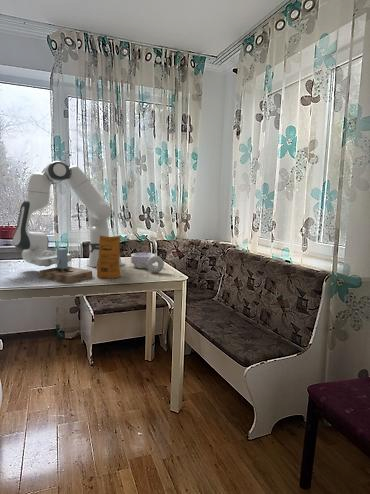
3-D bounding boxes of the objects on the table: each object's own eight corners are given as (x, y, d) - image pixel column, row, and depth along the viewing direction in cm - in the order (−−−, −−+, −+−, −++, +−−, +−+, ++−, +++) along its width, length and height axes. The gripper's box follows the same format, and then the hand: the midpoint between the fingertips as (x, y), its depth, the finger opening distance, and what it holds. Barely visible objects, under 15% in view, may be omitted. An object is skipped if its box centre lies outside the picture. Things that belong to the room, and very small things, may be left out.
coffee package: (98, 274, 184) (98, 234, 181) (121, 274, 185) (121, 235, 182) (95, 278, 175) (95, 236, 172) (119, 279, 176) (119, 237, 173)
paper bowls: (133, 270, 199) (134, 256, 198) (128, 265, 213) (128, 252, 212) (158, 268, 205) (158, 256, 204) (151, 264, 219) (151, 252, 218)
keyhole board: (39, 277, 173) (39, 270, 173) (64, 272, 187) (64, 265, 186) (68, 283, 163) (68, 276, 162) (92, 277, 177) (92, 270, 176)
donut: (163, 272, 195) (164, 255, 194) (163, 273, 192) (164, 256, 191) (146, 272, 194) (146, 255, 193) (146, 273, 191) (146, 256, 190)
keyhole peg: (55, 276, 175) (55, 248, 173) (63, 274, 179) (62, 247, 177) (62, 277, 173) (61, 249, 171) (69, 275, 177) (69, 248, 175)
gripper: (28, 254, 172) (46, 257, 165) (60, 250, 190) (78, 253, 183) (28, 266, 173) (46, 270, 166) (61, 261, 190) (78, 264, 184)
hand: (63, 261), depth 175 cm, fingers closed on keyhole peg, 4 cm apart
